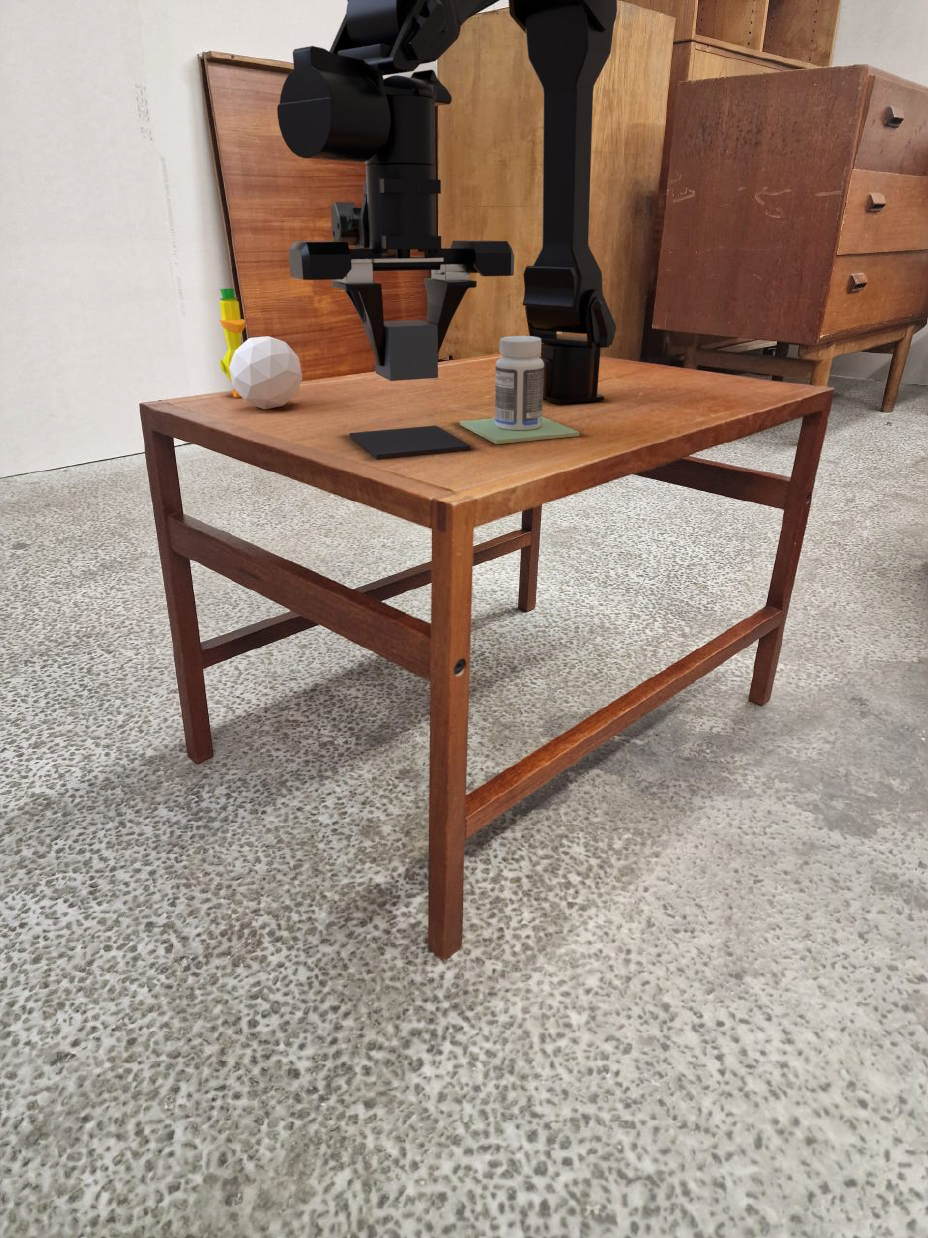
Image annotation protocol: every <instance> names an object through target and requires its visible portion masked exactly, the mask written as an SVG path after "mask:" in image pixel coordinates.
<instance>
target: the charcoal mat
mask: <svg viewBox="0 0 928 1238" xmlns="http://www.w3.org/2000/svg"><path fill="white" fill-rule="evenodd" d="M348 436H349V438H350V439H351V440H352V441H354V442H355V443H356V444H358V446H360V448H362V449H364V450H365V451H366V452H367V453H369V454H370V455H371V456H372V457H373V458H375V459H376V460H381V459H392V458H402V457H411V456H421V455H432V454H442V453H443V454H444V453H452V452H460V451H470V450H471V449H472V448H471V445H470V444H469V443H467V442H465V441H464V440H462V439H460V438H458V437H456V436H455V435H453V434H451V433H449V432H448V431H446V430H444V429H443V428H441V427H439V426H437V425H428V426H427V425H426V426H414V427H403V428H392V429H391V428H390V429H380V430H369V431H358V432H357V431H356V432H349V433H348Z"/></svg>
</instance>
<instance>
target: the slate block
mask: <svg viewBox="0 0 928 1238" xmlns="http://www.w3.org/2000/svg"><path fill="white" fill-rule="evenodd" d="M384 332H385V361H384V366H379V365H377V363H376V360H375V359H374V366H375V367H374V368H375V374H376V375H378V376H380V377H382V378H383V379H385V380H388V381H390V382H398V381H399V382H400V381H415V380H427V379H438V378H439V353H438V326H437V325H436V324H432V323H429V322H427V321H425V320H421V319H410V320H409V319H407V320H386V321H385V320H384Z"/></svg>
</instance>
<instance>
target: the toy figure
mask: <svg viewBox="0 0 928 1238" xmlns="http://www.w3.org/2000/svg"><path fill="white" fill-rule="evenodd" d="M219 290H220V293H221V296H222V297H220V298H219V300H220V301H219V311H220V317H221V319H219V323H220V326H222V329H223V334H224V338H225V342H226V346H227V351H226V352H225V354H224V356H223V358H222V360H221V359H220V360H219V366H220V367H219V368H220V370H221V372H222V373H224V374H225V376H226V378H227V379H228V380H229V381H230V382H231V383H232V380H231V375H230V370H229V366H230V363H231V361H232V358H233V355H234V353H235V351H236V350H237V349H238V348H239V347H240V346H241V345H242V333H243V331H244V330H245V328H246V325H247V323H246V319H243V318H241V312H240V302H239V301H238V299H239V297H235V288H220V289H219ZM232 397H233V398H242V397H241V396H240V395H239V394H238V393H237V391H236V390H235V389H234V388H233V390H232Z"/></svg>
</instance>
